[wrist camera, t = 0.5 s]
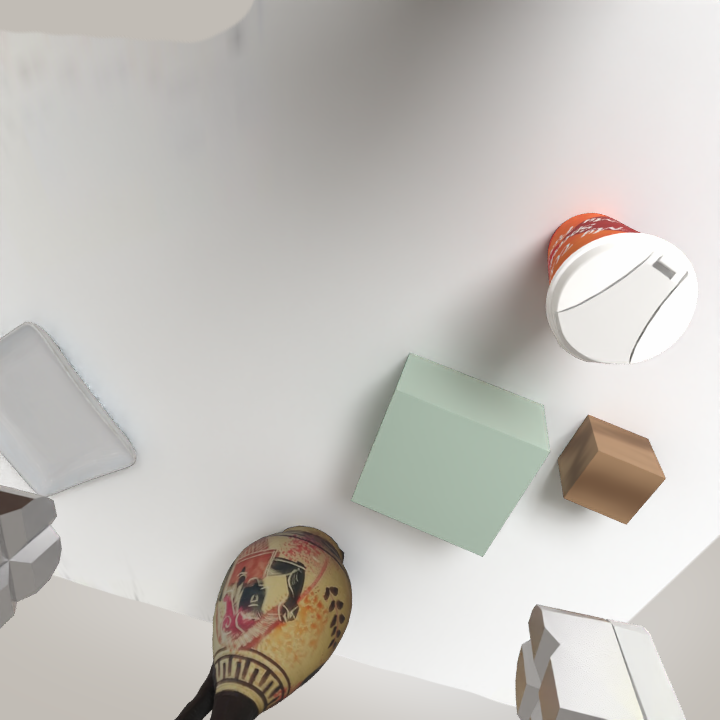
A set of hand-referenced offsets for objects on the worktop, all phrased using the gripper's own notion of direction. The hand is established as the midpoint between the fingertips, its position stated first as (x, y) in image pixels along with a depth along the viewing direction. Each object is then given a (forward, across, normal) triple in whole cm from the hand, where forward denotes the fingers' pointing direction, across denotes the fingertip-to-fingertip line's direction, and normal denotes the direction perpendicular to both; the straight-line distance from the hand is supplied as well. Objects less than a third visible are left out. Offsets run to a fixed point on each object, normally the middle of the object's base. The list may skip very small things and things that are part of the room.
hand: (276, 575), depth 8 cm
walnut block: (+41, -20, +17) cm, 49 cm away
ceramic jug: (+45, +11, +42) cm, 62 cm away
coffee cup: (+39, -13, -2) cm, 41 cm away
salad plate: (+46, +46, +28) cm, 71 cm away
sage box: (+42, -5, +19) cm, 46 cm away
